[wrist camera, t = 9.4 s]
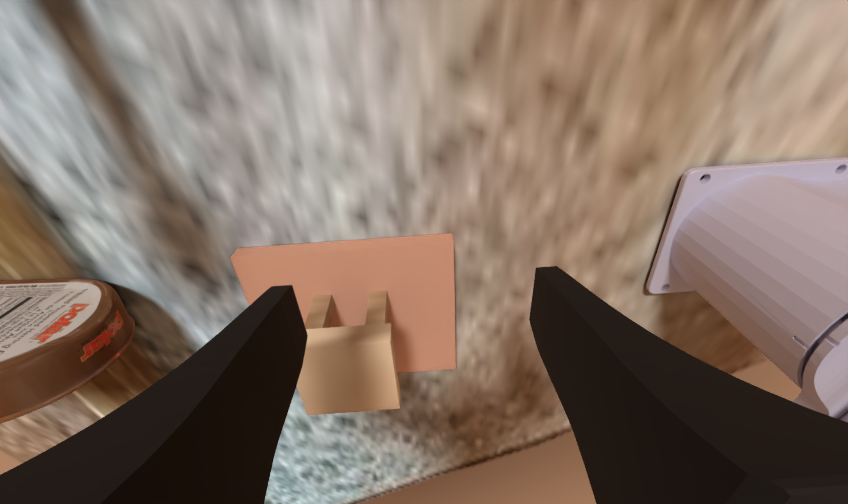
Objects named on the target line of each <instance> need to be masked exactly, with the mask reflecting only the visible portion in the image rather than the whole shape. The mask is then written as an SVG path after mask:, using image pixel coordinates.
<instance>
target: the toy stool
mask: <svg viewBox="0 0 848 504" xmlns="http://www.w3.org/2000/svg"><path fill="white" fill-rule="evenodd" d="M388 307H389V303H388V295H387V291H374V292H369V300H368V307H367V315H366V322H365V325H359V326H345V327H331V328H330V325H331V321H332V317H333V313H334V309H335V307H334V302H333V298H332V294H331V295H317V296H314V298H313V301H312V304H311V307H310V310H309V313H308V316H307V319H306V322H305V328H306V331H307V335H308V337H307V343H306V349H305V355H304V360H303V365H302V369H301V372H300V376H299V379H298V382H297V388H298V390H299V393H300V396H301V399H302V401H303V404H304V407H305V409H306V412H307V415H317V414H331V413H345V412H359V411H373V410H387V409H400V383H399V376H398V369H397V362H396V355H395V347H394V339H393V332H392V326H391V323H388ZM387 323H388V324H387Z"/></svg>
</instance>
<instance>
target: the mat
mask: <svg viewBox="0 0 848 504" xmlns="http://www.w3.org/2000/svg"><path fill="white" fill-rule="evenodd" d="M230 259H231V261H232V264H233V266H234V269H235V271H236V274H237V276H238V279H239V281H240V284H241V286H242V289H243V291H244V294H245V296H246V299H247V301H248V304H249V306H250V305H251V304H252V303H253V302H254V301H255V300H256V299H257V298H259V297H260V296H261V295H262V294H263V293H264V292H265V291H266V290H268V289H269V288H270V287H271V286H283V285H292V286H293V289H294V292H295V296H296V299H297V302H298V305H299V309H300V312H301V315H302V318H303V322H304V325H305V322H306V319H307V316H308V313H309V310H310V307H311V304H312V301H313V298H314V296H317V295H331V294H332V298H333V302H334V307H335V309H334V313H333V317H332V321H331V325H330V328H331V327H345V326H359V325H365V322H366V315H367V307H368V300H369V292H374V291H387V295H388V303H389V307H388V323H391V326H392V332H393V339H394V347H395V355H396V362H397V369H398V373H403V372H417V371H431V370H444V369H456V353H455V290H454V241H453V237H452V233H449V234H435V235H420V236H406V237H392V238H377V239H363V240H349V241H334V242H320V243H305V244H291V245H277V246H262V247H248V248H237V250H236V251H235V252H234V254H233V255H232V256H231V258H230ZM388 323H387V324H388Z"/></svg>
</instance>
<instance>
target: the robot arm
mask: <svg viewBox="0 0 848 504" xmlns="http://www.w3.org/2000/svg"><path fill="white" fill-rule="evenodd" d="M703 175H705V177H704V178H703V179H702V180H700V178H701V177H702V176H703ZM663 285H664V286H663ZM646 288H647V290H648V291H649V292H650V293H652V294H661V293H675V292H689V291H696V292H698V293H699V294H700V295H701V296H702V297H703V298H704V299H705V300H706V301H707V302H708V303H709V304H710V305H711V306H713V307H714V308H715V309H716V310H717V311H718V312H719V313H720V314H721V315H722V316H723V317H724V318H725V319H727V320H728V321H729V322H730V323H731V324H732V325H733V326H734V327H735V328H736V329H737V330H738V331H739V332H741V333H742V334H743V335H744V336H745V337H746V338H747V339H748V340H749V341H750V342H751V343H752V344H753V345H754V346H756V347H757V348H758V349H759V350H760V351H761V352H762V353H763V354H764V355H765V356H766V357H767V358H768V359H770V360H771V361H772V362H773V363H774V364H775V365H776V366H777V367H778V368H779V369H780V370H781V371H782V372H784V373H785V374H786V375H787V376H788V377H789V378H790V379H791V380H792V381H793V382H794V383H795V384H796V385H797V386H799V387H800V388H801V389H802V390H801V393H800V394H799V396H798V397H797V398H796V399H795V400H794V401H793V402H792V401H789V400H787V399H785V398H782V397H780V396H777V395H775V394H772V393H770V392H767V391H765V390H763V389H760V388H758V387H756V386H753V385H751V384H749V383H747V382H745V381H742V380H740V379H738V378H736V377H734V376H732V375H730V374H728V373H725V372H723V371H721V370H719V369H717V368H715V367H713V366H711V365H709V364H707V363H705V362H703V361H701V360H699V359H697V358H695V357H693V356H691V355H689V354H687V353H686V352H684V351H682V350H680V349H678V348H677V347H675V346H673V345H671V344H669V343H668V342H666V341H664V340H662V339H661V338H659V337H657V336H656V335H654V334H652V333H651V332H649V331H647V330H646V329H644V328H643V327H641V326H640V325H638V324H637V323H635V322H633V321H632V320H630V319H629V318H627V317H626V316H624V315H623V314H621V313H620V312H618V311H617V310H615V309H614V308H613V307H611V306H610V305H608V304H607V303H606V302H604V301H603V300H601V299H600V298H599V297H597V296H596V295H595V294H593V293H592V292H591V291H589V290H588V289H587V288H585V287H584V286H583V285H581V284H580V283H579V282H577V281H576V280H575V279H573V278H572V277H571V276H569V275H568V274H567V273H565V272H564V271H563V270H561V269H560V268H558V267H557V266H554V267H540V268H536V272H535V280H534V288H533V296H532V304H531V312H530V319H529V320H530V324H531V327H532V331H533V335H534V338H535V341H536V345H537V348H538V351H539V353H540V356H541V358H542V360H543V363H544V365H545V367H546V369H547V372H548V374H549V376H550V379H551V381H552V383H553V385H554V388H555V390H556V392H557V394H558V397H559V399H560V401H561V403H562V406H563V408H564V410H565V412H566V415H567V417H568V419H569V422H570V424H571V427H572V429H573V432H574V435H575V438H576V441H577V443H578V447H579V450H580V452H581V456H582V459H583V462H584V465H585V468H586V471H587V474H588V477H589V481H590V484H591V487H592V491H593V494H594V497H595V500H596V503H597V504H848V157H843V158H828V159H814V160H799V161H785V162H770V163H756V164H741V165H727V166H712V167H698V168H691V169H689V170H687V171H686V172H685V173H684V174H683V176H682V178H681V181H680V184H679V187H678V190H677V193H676V196H675V199H674V202H673V205H672V208H671V211H670V214H669V217H668V221H667V224H666V227H665V230H664V233H663V236H662V239H661V242H660V245H659V248H658V251H657V254H656V257H655V260H654V263H653V266H652V269H651V272H650V275H649V278H648V281H647V284H646ZM307 337H308V335H307V331H306V328H305V325H304V322H303V318H302V315H301V312H300V309H299V305H298V302H297V299H296V296H295V292H294V289H293V286H292V285H283V286H271V287H270V288H269V289H268V290H266V291H265V292H264V293H263V294H262V295H261V296H260V297H259V298H257V299H256V300H255V301H254V302H253V303H252V304H251V305H250V306H249V307H248V308H246V309H245V310H244V311H243V312H242V313H241V314H240V315H239V316H238V317H237V318H235V319H234V320H233V321H232V322H231V323H230V324H229V325H228V326H226V327H225V328H224V329H223V330H222V331H221V332H220V333H219V334H217V335H216V336H215V337H214V338H213V339H211V340H210V341H209V342H208V343H207V344H205V345H204V346H203V347H202V348H201V349H199V350H198V351H197V352H196V353H195V354H193V355H192V356H191V357H190V358H188V359H187V360H186V361H185V362H183V363H182V364H181V365H180V366H178V367H177V368H176V369H174V370H173V371H172V372H170V373H169V374H168V375H166V376H165V377H163V378H162V379H161V380H159V381H158V382H156V383H155V384H154V385H152V386H151V387H149V388H148V389H147V390H145V391H144V392H142V393H141V394H139V395H138V396H136V397H135V398H133V399H131V400H130V401H128V402H127V403H125V404H124V405H122V406H120V407H119V408H117V409H116V410H114V411H113V412H111V413H109V414H108V415H106V416H105V417H103V418H102V419H100V420H98V421H97V422H95V423H94V424H92V425H90V426H89V427H87V428H85V429H84V430H82V431H80V432H78V433H77V434H75V435H73V436H71V437H70V438H68V439H66V440H65V441H63V442H61V443H59V444H57V445H56V446H54V447H52V448H50V449H48V450H47V451H45V452H43V453H41V454H39V455H37V456H36V457H34V458H32V459H30V460H28V461H26V462H24V463H23V464H21V465H19V466H17V467H15V468H13V469H11V470H9V471H7V472H5V473H3V474H1V475H0V504H264V500H265V495H266V490H267V486H268V481H269V477H270V472H271V468H272V463H273V459H274V455H275V451H276V447H277V444H278V440H279V437H280V434H281V431H282V428H283V425H284V422H285V419H286V416H287V413H288V410H289V407H290V404H291V400H292V397H293V394H294V391H295V388H296V385H297V382H298V379H299V376H300V372H301V369H302V365H303V360H304V355H305V349H306V343H307Z"/></svg>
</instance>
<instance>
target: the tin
mask: <svg viewBox="0 0 848 504" xmlns="http://www.w3.org/2000/svg"><path fill="white" fill-rule="evenodd" d="M134 334H135V322H134V320H133V318H132V317H131V316H130V315H128V313H127V311H126V309H125V307H124V305H123V303H122V301H121V299H120V297H119V295H118V294H117V292H116V291H115V290H114V289H113V288H112V287H111V286H110V285H108V284H107V283H105V282H102V281H99V280H94V279H85V278H73V279H39V280H3V281H0V423H3V422H6V421H9V420H12V419H14V418H17V417H20V416H23V415H25V414H28V413H30V412H32V411H35V410H37V409H40V408H42V407H45V406H47V405H49V404H51V403H53V402H55V401H57V400H59V399H61V398H63V397H64V396H66V395H68V394H70V393H71V392H73V391H75V390H77V389H78V388H80V387H82V386H83V385H85V384H86V383H88V382H89V381H91V380H92V379H93V378H95V377H96V376H98V375H99V374H100V373H102V372H103V371H104V370H105V369H106V368H108V367H109V366H110V365H111V364H113V363H114V362H115V361H116V360H117V359H118V357H119V356H121V355H122V354H123V352H124V351H125V350H126V349H127V347H128V346H129V344H130V343H131V341H132V339H133V336H134Z"/></svg>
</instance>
